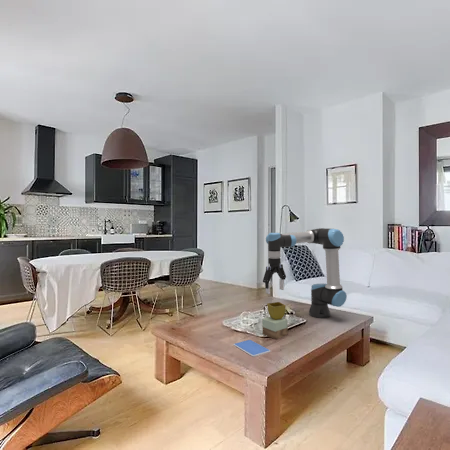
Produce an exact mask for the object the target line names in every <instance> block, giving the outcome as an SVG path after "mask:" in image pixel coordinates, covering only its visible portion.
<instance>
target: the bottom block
mask: <svg viewBox="0 0 450 450" xmlns="http://www.w3.org/2000/svg"><path fill="white" fill-rule="evenodd" d="M288 332H289V328H288V326H287V328H285V329H282V330H279V331H276V332H275V331H272V330H269V329H267V328H264V327H262V335H263V334H265V335H264V336H266V335H267V336H266V337H269V338H272V339H275V340H279V339H280V338H283V337H286V336H287V335H288Z"/></svg>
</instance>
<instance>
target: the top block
mask: <svg viewBox="0 0 450 450" xmlns="http://www.w3.org/2000/svg"><path fill="white" fill-rule="evenodd" d="M261 320H262V321H261V324H262V325H261V326H262V328H263V327H264V328H267V329H269V330H272V331H275V332H276V331H279V330H282V329H285V328H287V327H288V319H287V318H284V317H283V318H282V319H277V320H274V319H273V318H271V316H270V315H269V316H267V317H263V318H262V319H261Z"/></svg>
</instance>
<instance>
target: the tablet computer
mask: <svg viewBox="0 0 450 450" xmlns="http://www.w3.org/2000/svg"><path fill="white" fill-rule="evenodd" d="M233 346H234V347H236V348H238V349H239V350H240V351H243V352H244V353H246V354H248V355H249V356H250V357H252V358H255V357H258V356H261V355H265V354H269V353H271V349H268V348H266V347H265V346H263V345H261V344H259V343H258V342H255V341H253V340H252V339H248V340H244V341H243V340H242V341H239V342H235V343H233Z"/></svg>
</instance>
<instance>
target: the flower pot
mask: <svg viewBox="0 0 450 450" xmlns="http://www.w3.org/2000/svg"><path fill="white" fill-rule="evenodd" d="M266 306H267V311H268V314H269V317H270V316H271V318H273V319H274V320H277V319H282V318H284V316H285V313H286V304H284V303H282V302H280V301H277V302H269V303H268V302H267V303H266Z"/></svg>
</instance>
